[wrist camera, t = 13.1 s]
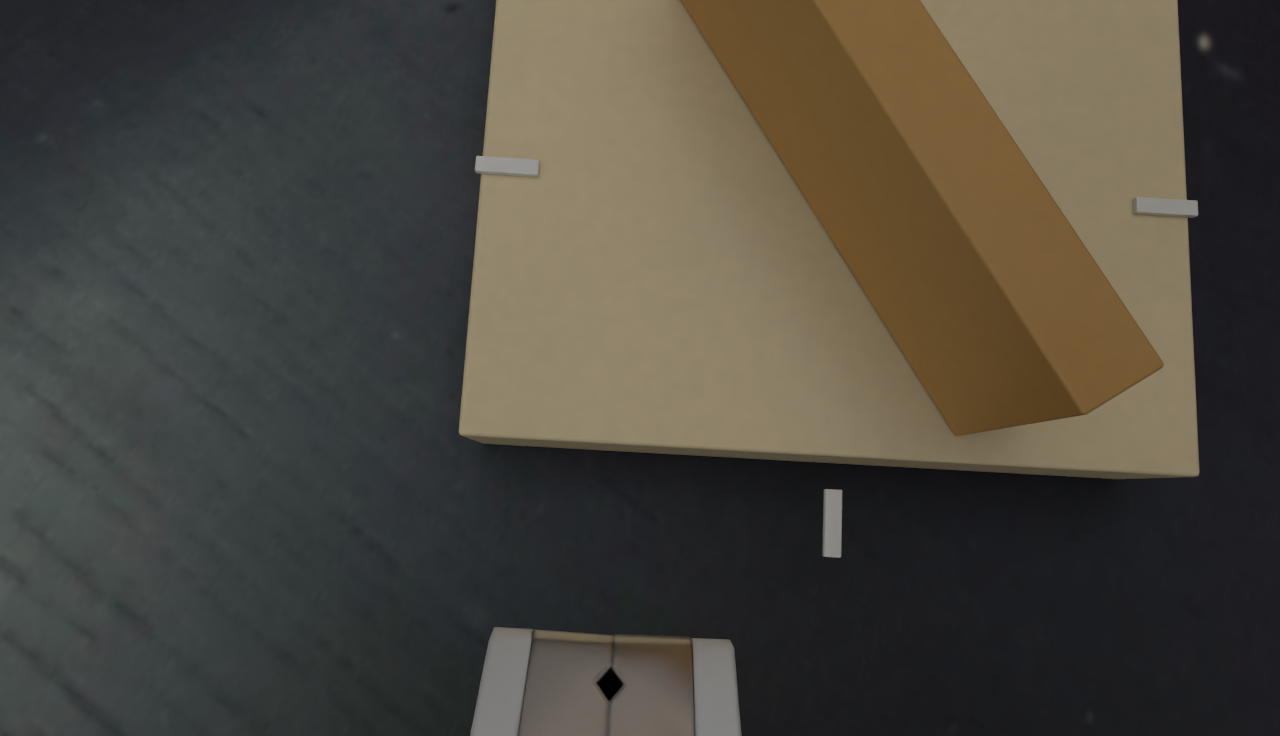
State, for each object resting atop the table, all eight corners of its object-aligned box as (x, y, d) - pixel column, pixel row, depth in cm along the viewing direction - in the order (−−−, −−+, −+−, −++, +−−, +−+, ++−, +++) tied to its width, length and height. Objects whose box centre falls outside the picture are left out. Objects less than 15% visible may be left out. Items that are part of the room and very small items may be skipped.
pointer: (1016, 400, 18) (1178, 363, 13) (955, 437, 18) (1094, 415, 13) (730, -43, 19) (772, -239, 14) (671, -12, 19) (692, -199, 14)
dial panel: (1105, -34, 23) (1182, -117, 20) (1125, 565, 21) (1216, 578, 17) (519, -74, 23) (504, -164, 20) (469, 529, 20) (442, 536, 17)
